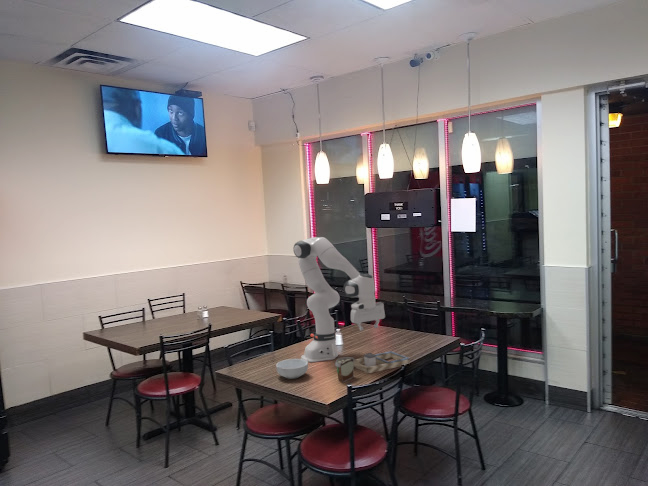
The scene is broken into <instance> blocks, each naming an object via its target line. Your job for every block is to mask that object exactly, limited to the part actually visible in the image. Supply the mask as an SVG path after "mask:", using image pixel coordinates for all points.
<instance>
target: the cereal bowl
mask: <svg viewBox="0 0 648 486" xmlns="http://www.w3.org/2000/svg"><path fill="white" fill-rule="evenodd" d="M275 367H276V372H277V374H278V375H279V376H281V377H282V378H285V379H290V380H291V379H294V380H295V379H298V378H300V377H302V376H303V375H305V373H307V372H308V369H309V362H307V361H306V360H303V359H301V358H287V359H284V360H280V361H278V362H277V363H276V365H275Z"/></svg>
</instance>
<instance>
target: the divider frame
mask: <svg viewBox="0 0 648 486" xmlns="http://www.w3.org/2000/svg"><path fill="white" fill-rule="evenodd" d="M374 355H376V357H375V358H376V366H371V367H367V366H365V360H364V357H360V358H354V368H356V369H357V370H359V371H362V372H363V373H365V374H372V373H378V372H382V371H385V370H390V369H395V368H400V367H402V366H401V365H403V364H407V363H409V364H410V357H408V356H405V355H403V354H399V353H397V352H396V351H395V352H394V351H386V352H380V353H376V354H374ZM387 359H393V360H391V361H390V360H389V361H388V360H387Z"/></svg>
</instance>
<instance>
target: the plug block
mask: <svg viewBox="0 0 648 486" xmlns="http://www.w3.org/2000/svg"><path fill="white" fill-rule="evenodd" d="M363 356H364V357H363V358H364V360H365V363H364V365H365V366H367V367H371V366H376V365H377V364H376V358H375V357H376V355H375V354H374V353H371V352H367V353H365V354H363Z"/></svg>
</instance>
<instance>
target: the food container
mask: <svg viewBox="0 0 648 486" xmlns="http://www.w3.org/2000/svg"><path fill="white" fill-rule="evenodd" d="M335 360H336V361H335V363H334V365H335V367H336V371H337V378H338V379H337V380H338V382H339V383H345V382H347V381H348V380H351V379H353V378H354V372H355V371H354V370H355V369H354V368H355V367H354V360H355V357H353V356H352V357H350V356H349V357H347V356H346V357H339V358H337V359H335Z"/></svg>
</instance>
